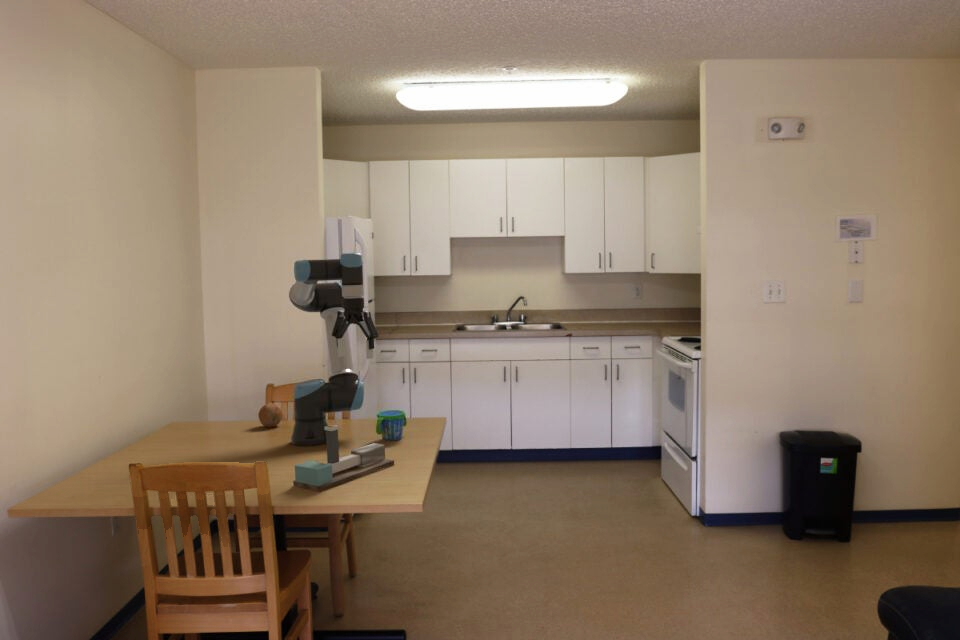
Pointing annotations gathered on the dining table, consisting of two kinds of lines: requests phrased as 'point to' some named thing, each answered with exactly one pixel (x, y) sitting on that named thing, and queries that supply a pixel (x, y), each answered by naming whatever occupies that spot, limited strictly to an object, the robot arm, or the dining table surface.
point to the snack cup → (391, 424)
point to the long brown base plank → (356, 467)
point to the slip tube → (333, 452)
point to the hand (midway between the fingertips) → (355, 357)
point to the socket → (313, 473)
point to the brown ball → (270, 415)
